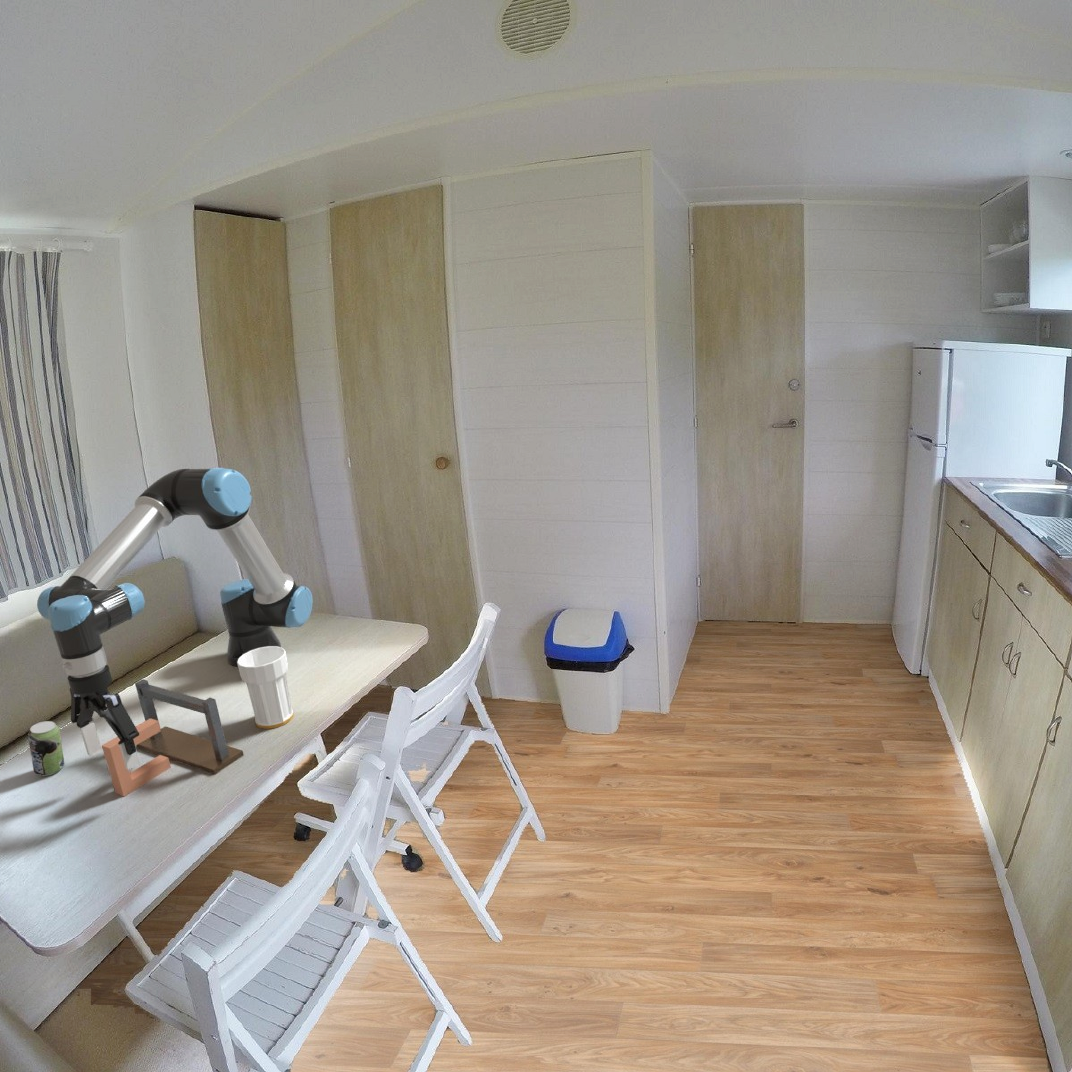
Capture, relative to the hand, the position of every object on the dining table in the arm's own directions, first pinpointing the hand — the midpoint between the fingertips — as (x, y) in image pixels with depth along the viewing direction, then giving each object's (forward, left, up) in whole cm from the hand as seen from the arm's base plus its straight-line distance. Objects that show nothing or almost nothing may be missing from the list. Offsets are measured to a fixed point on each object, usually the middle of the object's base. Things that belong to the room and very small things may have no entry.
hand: (113, 759), depth 164 cm
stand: (-8, +14, -8) cm, 19 cm away
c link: (-2, +4, -8) cm, 10 cm away
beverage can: (-20, -14, -9) cm, 26 cm away
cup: (-10, +35, -9) cm, 37 cm away
